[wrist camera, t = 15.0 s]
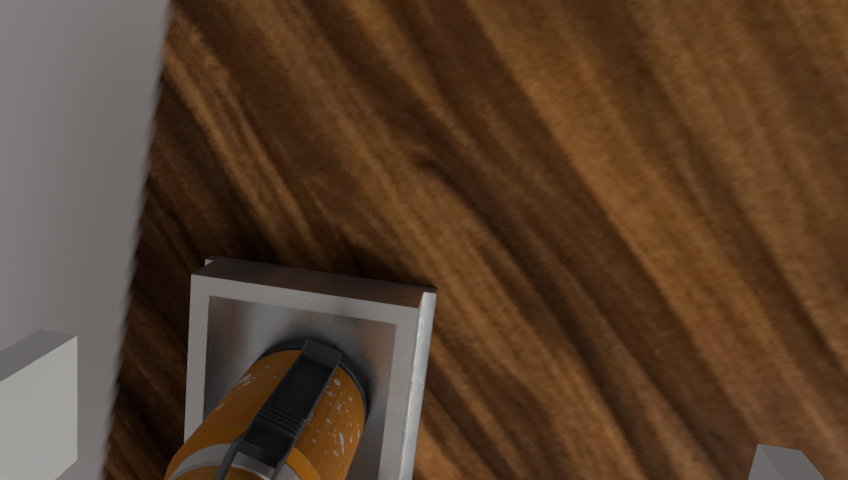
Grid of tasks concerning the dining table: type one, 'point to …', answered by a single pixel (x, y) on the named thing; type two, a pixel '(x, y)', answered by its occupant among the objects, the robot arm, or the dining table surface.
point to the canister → (281, 420)
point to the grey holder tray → (323, 323)
